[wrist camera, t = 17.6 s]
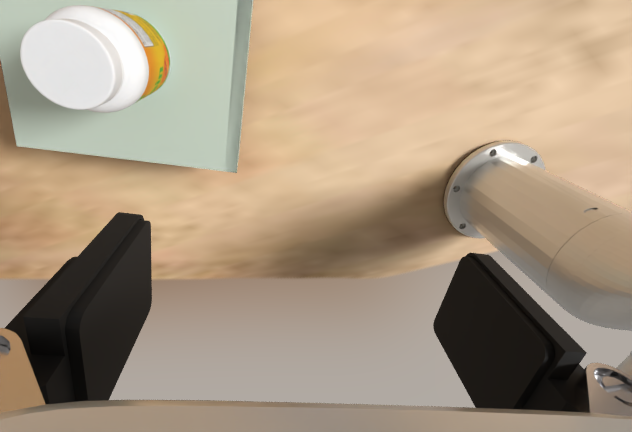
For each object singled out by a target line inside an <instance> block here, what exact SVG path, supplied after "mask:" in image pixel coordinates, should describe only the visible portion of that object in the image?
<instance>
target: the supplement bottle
mask: <svg viewBox="0 0 632 432" xmlns="http://www.w3.org/2000/svg"><path fill="white" fill-rule="evenodd" d="M20 58H21V63H22V66H23V69H24V71H25V74H26V76H27V77H28V79H29V80H30V82H31V83H32V85H33V86H34V87H35V88H36V89H37V90H38V91H39V92H40V93H41V94H42V95H43V96H45V97H46V98H47V99H49V100H50V101H52V102H54V103H56V104H58V105H60V106H63V107H66V108H70V109H76V110H89V111H93V112H100V113H109V112H116V111H120V110H123V109H125V108H127V107H129V106H131V105H133V104H134V103H136V102H138V101H140V100H141V99H143V98H145V97H146V96H148V95H150V94H152V93H154V92H155V91H157V90H158V89H159V88H160V87H162V85H163V84H164V83H165V82H166V80H167V78H168V76H169V73H170V69H171V57H170V52H169V48H168V46H167V43H166V41H165V40H164V38H163V36H162V35H161V34H160V32H159V31H158V30H157V29H156V28H155V27H154V26H153V25H152V24H151V23H150V22H148V21H147V20H146V19H144V18H142V17H140V16H138V15H135V14H132V13H129V12H125V11H118V10H112V9H105V8H99V7H93V6H86V5H73V6H67V7H63V8H60V9H58V10H56V11H54V12H53V13H51V14H50V15H49V16H48V17H47V18H46V19H45V20H43V21H40V22H38V23H36V24H34V25H33V26H32V27H31V28H30V29H28V31H27V32H26V33H25V35H24V37H23V39H22V42H21V46H20Z"/></svg>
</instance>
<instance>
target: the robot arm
mask: <svg viewBox="0 0 632 432" xmlns="http://www.w3.org/2000/svg"><path fill="white" fill-rule="evenodd" d="M444 209H445V214H446V216H447V218H448V221H449V222H450V223H451V224H452V226H453V227H454V228H455V229H456V230H457V231H459V232H460V233H462V234H464V235H466V236H469V237H472V238H486V239H487V240H488V241H489V242H490V243H491V244H492V245H493V246H494V247H495V248H497V249H498V250H499V251H500V252H501V253H502V254H503V255H504V256H505V257H507V258H508V259H509V260H510V261H511V262H512V263H513V264H514V265H515V266H516V267H518V268H519V269H520V270H521V271H522V272H523V273H524V274H525V275H526V276H528V277H529V278H530V279H531V280H532V281H533V282H534V283H535V284H536V285H537V286H539V287H540V288H541V289H542V290H543V291H544V292H545V293H546V294H548V295H549V296H550V297H551V298H552V299H553V300H554V301H555V302H556V303H558V304H559V305H560V306H561V307H562V308H563V309H564V310H566V311H567V312H568V313H570V314H571V315H573V316H575V317H576V318H578V319H580V320H582V321H585V322H587V323H590V324H593V325H597V326H601V327H605V328H612V329H619V330H629V331H632V211H630V210H627V209H625V208H623V207H621V206H619V205H617V204H615V203H613V202H611V201H609V200H607V199H604V198H602V197H600V196H598V195H596V194H594V193H592V192H590V191H588V190H586V189H584V188H582V187H579V186H577V185H575V184H573V183H571V182H569V181H567V180H565V179H563V178H561V177H559V176H556V175H554V174H552V173H550V172H548V171H546V169H545V165H544V162H543V160H542V158H541V156H540V155H539V154H538V153H537V152H536V151H535V150H534V149H533V148H531V147H529V146H528V145H525V144H523V143H520V142H516V141H498V142H494V143H490V144H488V145H486V146H483V147H481V148H479V149H478V150H476V151H475V152H473V153H471V154H470V155H469V156H468V157H467V158H466V159H464V160H463V161H462V162H461V164H460V165H459V166H458V167H457V168H456V169H455V171H454V173H453V174H452V176H451V177H450V179H449V182H448V184H447V187H446V190H445V195H444ZM151 294H152V287H151V225H150V222H149V221H144V218H143V216H142V215H138V214H129V213H120V212H119V213H117V214H116V215H115V216H114V217H113V219H112V220H111V221H110V222H109V223H108V224H107V225H106V226H105V227H104V228H103V229H102V231H101V232H100V233H99V234H98V235H97V236H96V237H95V238H94V239H93V240H92V242H91V243H90V244H89V245H88V246H87V247H86V248H85V249H84V250H83V251H82V253H81V254H80V255H79V256H78V257H73V258H71V259H70V260H68V261H67V262H66V263H65V264H64V265H63V266H62V267H61V269H60V270H59V271H58V272H57V273H56V274H55V275H54V276H53V277H52V278H51V279H50V280H49V281H48V282H47V284H46V285H45V286H44V287H43V288H42V289H41V290H40V291H39V292H38V293H37V294H36V295H35V296H34V297H33V298H32V299H31V301H30V302H29V303H28V304H27V305H26V306H25V307H24V308H23V309H22V310H21V311H20V312H19V313H18V314H17V315H16V317H15V318H14V319H13V320H12V321H11V322H10V323H9V324H8V325H7V326H6V327H5V328H0V432H632V351H631V353H630V355H629V356H628V357H627V358H626V359H625V360H624V361H623V362H622V363H621V364H620V365H619V366H618V367H617V368H614V367H611V366H609V365H606V364H602V363H590V364H589V365H587V367H586V368H585V369H583V368H582V367H581V366H580V365H579V363H580V362H581V360H582V359H583V357H584V356H585V354H586V352H585V351H584V350H583V349H582V348H581V347H580V346H579V345H578V344H577V343H576V342H575V341H574V340H573V339H572V338H571V337H570V336H569V335H568V334H567V333H566V332H565V331H564V330H563V329H562V328H561V327H560V326H559V325H558V324H557V323H556V322H555V321H554V320H553V319H552V318H551V317H550V316H549V315H548V314H547V313H546V312H545V311H544V310H543V309H542V308H541V307H540V306H539V305H538V304H537V303H536V302H535V301H534V300H533V299H532V297H530V296H529V294H527V292H526V291H524V289H523V288H521V286H519V284H518V283H517V282H516V281H515V280H514V279H513V278H512V277H510V275H508V274H507V272H506V271H505V270H503V268H502V267H500V265H499V264H498V263H496V261H494V259H493V258H492V257H491V256H489V255H485V254H476V253H469V254H467V255H466V257H463V258H462V259H461V260H460V262H459V265H458V267H457V269H456V271H455V274H454V276H453V278H452V281H451V283H450V285H449V288H448V290H447V293H446V295H445V297H444V299H443V302H442V304H441V307H440V309H439V311H438V313H437V315H436V318H435V320H434V331H435V333H436V336H437V337H438V339H439V341H440V343H441V345H442V347H443V348H444V350H445V352H446V354H447V356H448V358H449V359H450V361H451V363H452V365H453V367H454V369H455V370H456V372H457V374H458V376H459V378H460V379H461V381H462V383H463V385H464V387H465V389H466V390H467V392H468V394H469V396H470V398H471V400H472V401H473V403H474V405H475V407H476V408H465V407H436V406H434V407H433V406H402V405H368V404H334V403H331V404H330V403H294V402H251V401H210V400H204V401H203V400H109V398H110V396H111V393H112V391H113V389H114V387H115V385H116V383H117V380H118V378H119V376H120V374H121V372H122V369H123V368H124V365H125V363H126V361H127V359H128V356H129V355H130V352H131V350H132V348H133V346H134V344H135V341H136V339H137V337H138V335H139V333H140V331H141V329H142V326H143V324H144V322H145V320H146V318H147V315H148V313H149V311H150V307H151V301H152V295H151Z"/></svg>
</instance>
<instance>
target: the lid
mask: <svg viewBox="0 0 632 432" xmlns="http://www.w3.org/2000/svg"><path fill="white" fill-rule="evenodd" d="M73 5H86V6H93V7H99V8H105V9H112V10H118V11H125V12H129V13H132V14H135V15H138V16H140V17H142V18H144V19H146V20H147V21H148V22H150V23H151V24H152V25H153V26H154V27H155V28H156V29H157V30H158V31H159V32H160V34H161V35H162V36H163V38H164V40H165V41H166V43H167V46H168V48H169V52H170V57H171V69H170V73H169V76H168V78H167V80H166V82H165V83H164V84H163V85H162V87H160V88H159V89H158V90H157V91H155V92H154V93H152V94H150V95H148V96H146V97H145V98H143V99H141V100H140V101H138V102H136V103H134V104H133V105H131V106H129V107H127V108H125V109H123V110H120V111H116V112H109V113H100V112H93V111H89V110H76V109H70V108H66V107H63V106H60V105H58V104H56V103H54V102H52V101H50V100H49V99H47V98H46V97H45V96H43V95H42V94H41V93H40V92H39V91H38V90H37V89H36V88H35V87H34V86H33V85H32V83H31V82H30V80H29V79H28V77H27V76H26V74H25V71H24V69H23V66H22V63H21V58H20V46H21V42H22V39H23V37H24V35H25V33H26V32H27V31H28V29H30V28H31V27H32V26H33V25H34V24H36V23H38V22H40V21H43V20H45V19H46V18H47V17H48V16H49V15H50V14H51V13H53V12H54V11H56V10H58V9H60V8H63V7H67V6H73ZM252 10H253V0H0V60H1V65H2V71H3V76H4V81H5V86H6V92H7V97H8V102H9V108H10V113H11V118H12V123H13V129H14V134H15V139H16V145H17V146H19V147H28V148H36V149H44V150H53V151H61V152H69V153H77V154H86V155H94V156H102V157H110V158H119V159H127V160H135V161H144V162H152V163H160V164H168V165H177V166H185V167H193V168H202V169H210V170H218V171H226V172H235V173H237V167H238V160H239V150H240V139H241V128H242V117H243V106H244V96H245V85H246V74H247V63H248V53H249V42H250V31H251V20H252Z"/></svg>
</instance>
